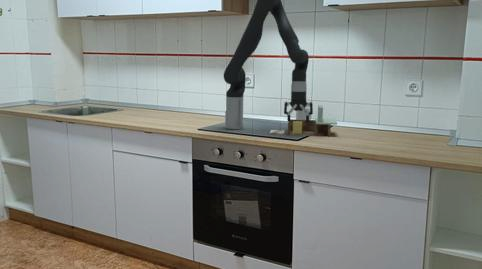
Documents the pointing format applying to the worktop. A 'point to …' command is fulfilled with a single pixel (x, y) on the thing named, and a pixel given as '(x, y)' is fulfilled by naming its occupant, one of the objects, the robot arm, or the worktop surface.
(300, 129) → the block
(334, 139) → the worktop surface
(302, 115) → the pill bottle
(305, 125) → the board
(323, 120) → the pale grey l-shaped piece
